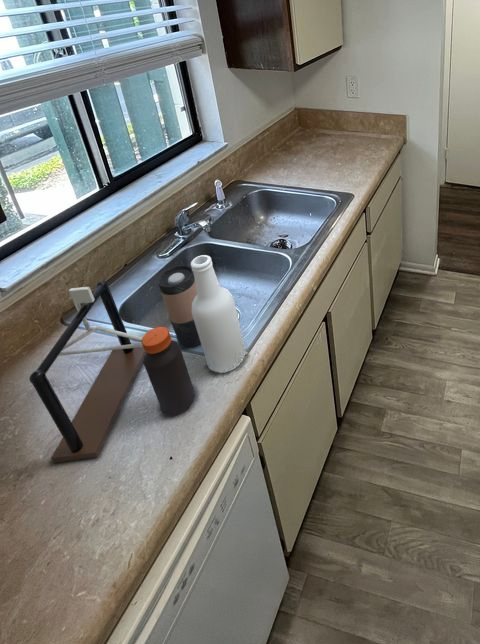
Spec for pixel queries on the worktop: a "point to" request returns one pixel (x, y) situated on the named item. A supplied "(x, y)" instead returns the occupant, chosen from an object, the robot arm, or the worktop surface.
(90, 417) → the rail
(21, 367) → the worktop surface
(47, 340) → the worktop surface
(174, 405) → the bottle
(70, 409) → the worktop surface
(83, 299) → the hanger
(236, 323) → the alcohol
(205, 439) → the worktop surface
